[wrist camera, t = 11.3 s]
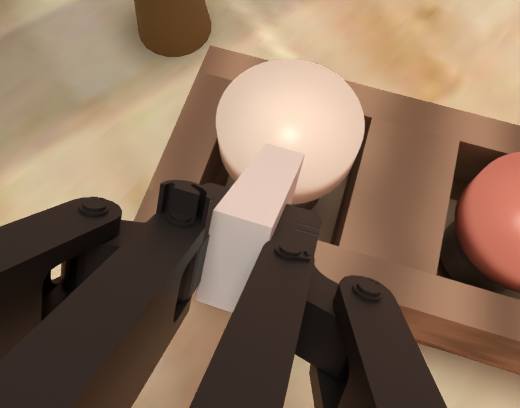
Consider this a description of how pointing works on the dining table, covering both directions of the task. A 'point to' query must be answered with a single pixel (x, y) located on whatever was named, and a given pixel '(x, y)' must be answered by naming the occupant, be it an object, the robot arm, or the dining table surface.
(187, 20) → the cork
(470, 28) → the dining table surface
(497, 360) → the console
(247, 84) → the ivory button
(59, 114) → the dining table surface
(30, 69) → the dining table surface
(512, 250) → the red button
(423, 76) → the dining table surface
